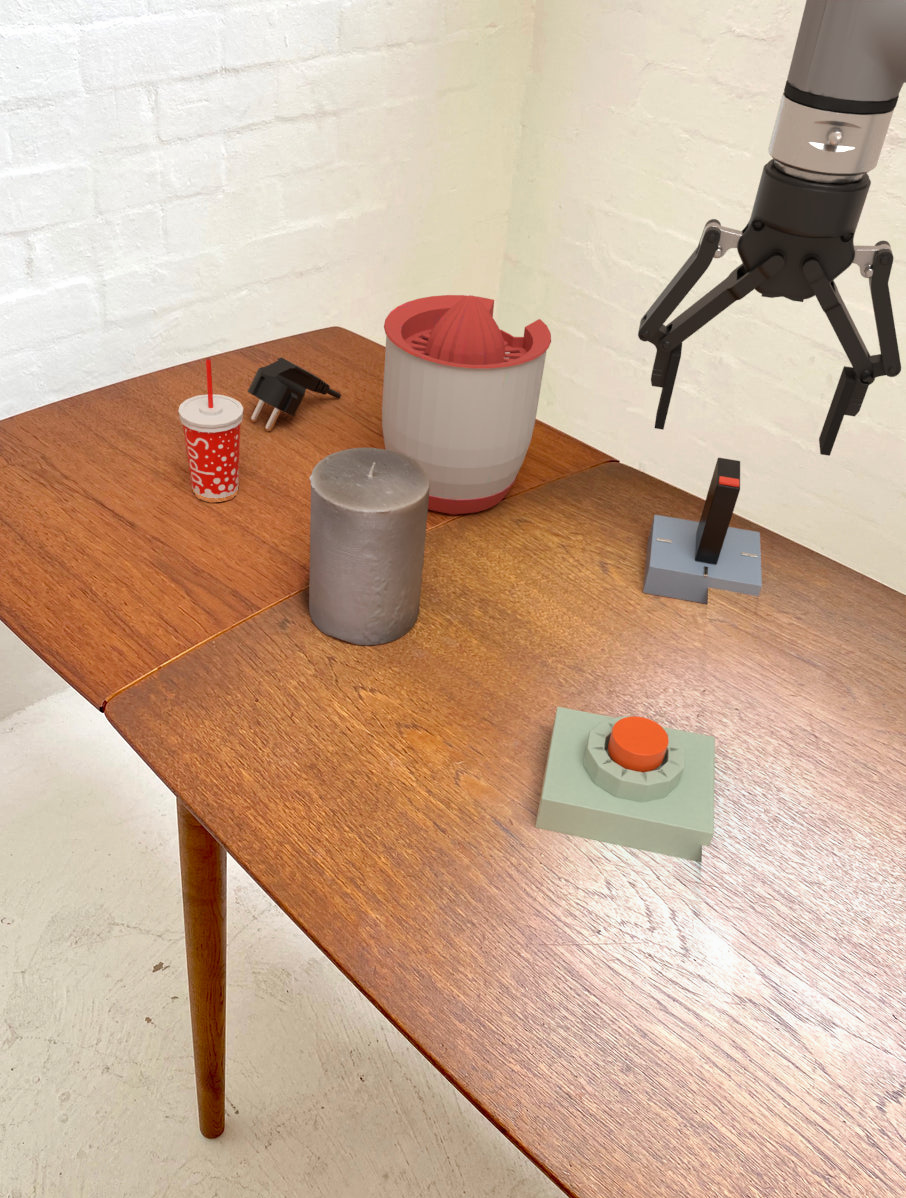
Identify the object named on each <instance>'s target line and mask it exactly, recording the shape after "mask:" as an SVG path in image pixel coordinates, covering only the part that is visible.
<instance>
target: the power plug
mask: <svg viewBox="0 0 906 1198" xmlns="http://www.w3.org/2000/svg"><path fill="white" fill-rule="evenodd" d="M306 390H309V391H310V392H313V393H318V394H321V395H323V396H326V395H327V394H328V395H329V396H331V397H333V398H335V399H341V397H342V394H341V393H340V392H338V391H336V390H335V389H333V388H331V385H330V384H329V383H327V382H325V380H322V379H321V378H320V377H319V376H317V375H315V374H313V373H311V372H310V371H308V370H306V369H304V368H303V367H301V366H299V365H297V364H295V363H293V362H291V361H289V360H288V359H285V358H284V357H279V358H277V360H276V361H273V362H271V363H270V364H268V365H266V366H262V367H259V368H258V369H257V370H256V372H255V374H254V377H253V379H252V381H251V383H250V385H249V387H248V389H247V392H248V393H249V394H250V395H251V396H254V397H255V398H257V399H258V402H257V404H256V406H255V408H254V410H253V412H252V414H251V416H250V421H251V422H252V423H257V422H258V421H259V418H260V416H261V414H262V412H263V410H264V408H265V406H266V404H267V405H269V406H271V407H273V410H272V412H271V414H270V416H269V417H268V420H267V422H266V424H265V426H264V429H265V431H266V430H267V431H266V432H268V431H270V432H271V431H272V430H273V429H274V426H275V424H276V422H277V420H278V418H279V416H280V414H281V412H283V413H285V414H287V415H289V416H292V417H295V416H296V414H297V411H298V409H299V408H300V406H301V403H302V401H303V399H304V398H305V396H306V395H305V394H306Z"/></svg>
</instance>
